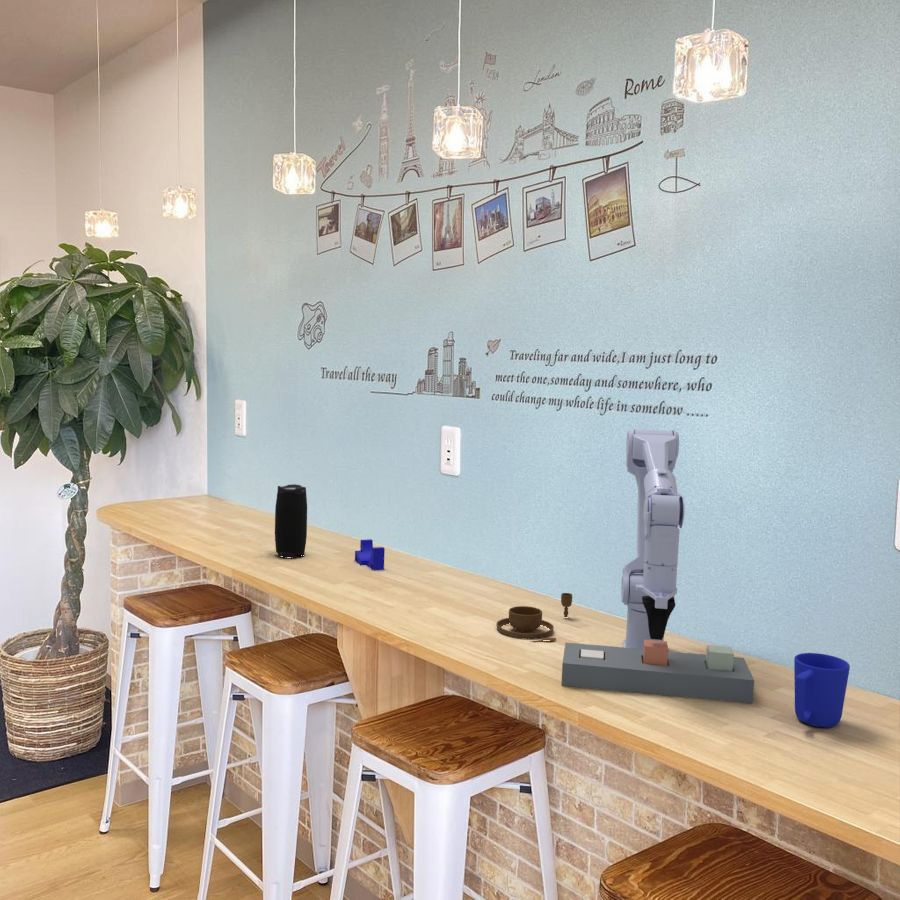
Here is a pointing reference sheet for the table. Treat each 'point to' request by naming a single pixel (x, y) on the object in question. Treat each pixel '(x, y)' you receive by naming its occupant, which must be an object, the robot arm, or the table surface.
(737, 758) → the table surface
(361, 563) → the blue blocky piece
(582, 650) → the white cube
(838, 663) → the mug
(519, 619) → the place setting
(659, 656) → the terracotta button
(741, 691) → the button panel
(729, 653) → the sage button
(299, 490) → the portable speaker
